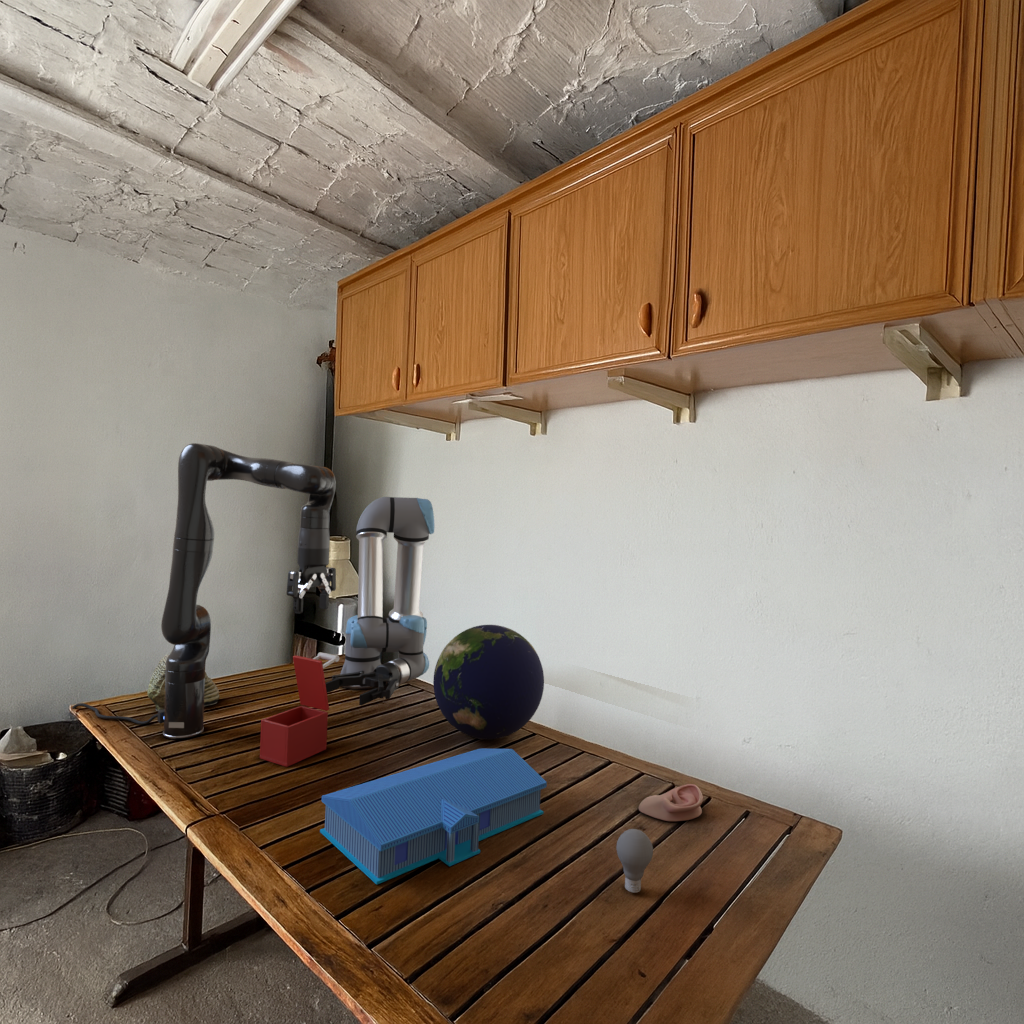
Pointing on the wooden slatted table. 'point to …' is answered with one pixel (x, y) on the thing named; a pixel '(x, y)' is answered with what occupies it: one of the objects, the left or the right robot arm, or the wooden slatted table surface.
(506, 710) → the globe
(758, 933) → the wooden slatted table surface
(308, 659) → the lid
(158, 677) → the fossil
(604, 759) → the wooden slatted table surface
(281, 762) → the chest
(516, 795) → the model building
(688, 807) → the anatomical model
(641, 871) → the light bulb
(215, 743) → the wooden slatted table surface
